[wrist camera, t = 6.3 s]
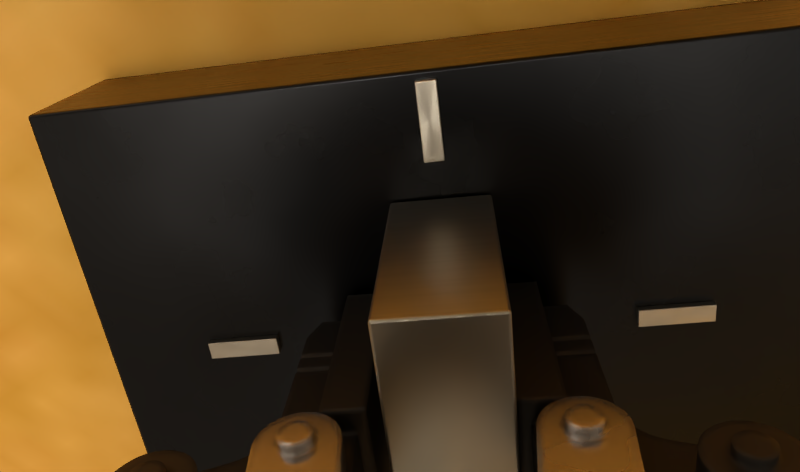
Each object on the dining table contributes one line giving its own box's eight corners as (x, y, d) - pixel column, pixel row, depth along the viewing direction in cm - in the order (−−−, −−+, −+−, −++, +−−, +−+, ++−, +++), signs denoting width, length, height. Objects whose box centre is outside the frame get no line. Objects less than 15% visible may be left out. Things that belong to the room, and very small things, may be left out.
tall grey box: (389, 202, 12) (364, 331, 8) (491, 193, 12) (513, 321, 8) (421, 444, 14) (412, 633, 11) (507, 439, 14) (530, 630, 10)
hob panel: (789, -4, 13) (884, 18, 10) (747, 411, 17) (807, 509, 14) (103, 80, 15) (20, 118, 12) (213, 444, 19) (172, 538, 16)
